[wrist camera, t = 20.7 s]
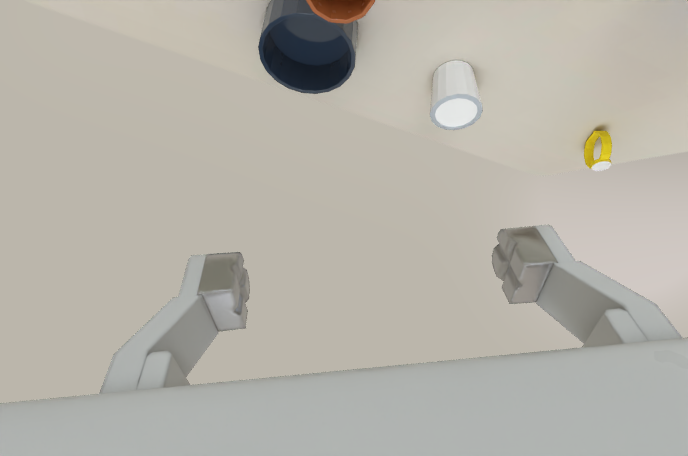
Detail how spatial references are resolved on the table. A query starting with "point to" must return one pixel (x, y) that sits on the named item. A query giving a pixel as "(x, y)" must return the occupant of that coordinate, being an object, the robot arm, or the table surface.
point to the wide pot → (306, 47)
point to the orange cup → (340, 9)
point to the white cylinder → (455, 96)
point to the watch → (605, 151)
